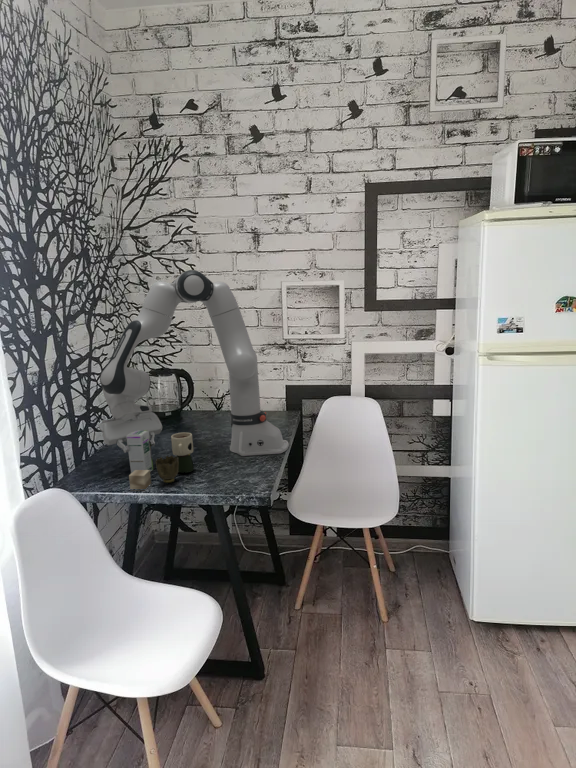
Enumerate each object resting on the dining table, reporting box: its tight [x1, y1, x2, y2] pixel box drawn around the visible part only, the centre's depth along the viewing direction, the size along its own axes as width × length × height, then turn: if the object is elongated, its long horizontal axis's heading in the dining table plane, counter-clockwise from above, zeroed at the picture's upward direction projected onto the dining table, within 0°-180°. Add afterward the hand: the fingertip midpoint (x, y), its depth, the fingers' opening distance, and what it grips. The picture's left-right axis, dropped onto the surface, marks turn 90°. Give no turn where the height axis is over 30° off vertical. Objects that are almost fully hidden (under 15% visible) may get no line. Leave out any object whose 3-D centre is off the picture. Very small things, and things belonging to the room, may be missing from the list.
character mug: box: [170, 431, 195, 474], centre depth 190 cm, size 11×7×13 cm, turn 3°
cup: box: [154, 454, 179, 484], centre depth 181 cm, size 8×7×8 cm
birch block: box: [128, 470, 152, 490], centre depth 178 cm, size 5×5×5 cm
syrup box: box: [126, 430, 154, 474], centre depth 191 cm, size 6×6×14 cm
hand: (140, 448), depth 190 cm, fingers closed on syrup box, 8 cm apart
